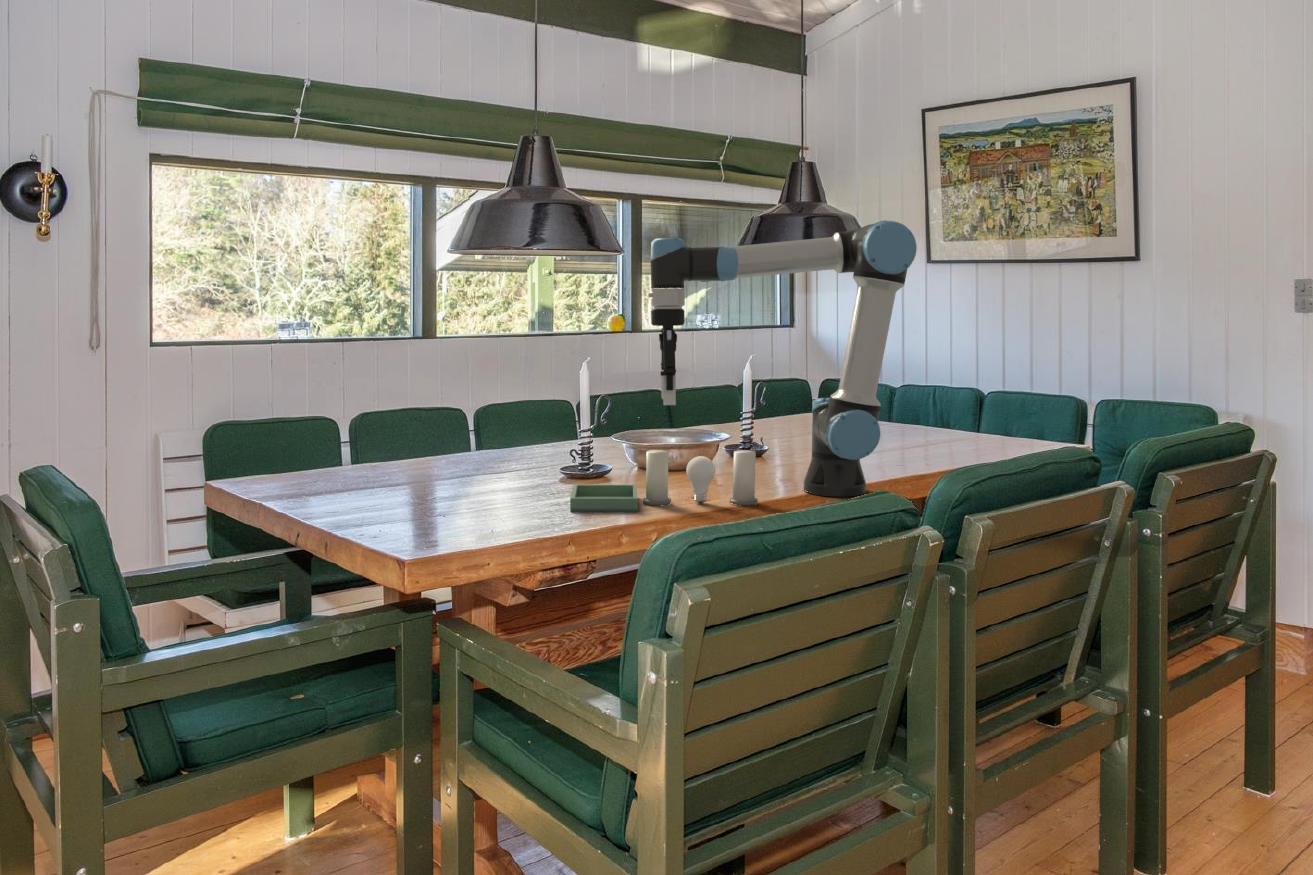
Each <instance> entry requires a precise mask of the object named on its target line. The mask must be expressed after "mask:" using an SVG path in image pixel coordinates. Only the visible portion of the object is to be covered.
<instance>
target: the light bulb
mask: <svg viewBox="0 0 1313 875" xmlns="http://www.w3.org/2000/svg"><path fill="white" fill-rule="evenodd" d="M685 469H686V471H685V472H686V476H687V478H688V479H689V482H690V483H691V486H692V491H693V494H694V495H693V500H694V502H696V503H697V504H700V503H701V504H704V503H705V502H707V499H708V496H707V495H708V492H709V487H710V484H711V483H712V481H713V479H714V478H715V475H716V467H715V463H714V462H713V460H711V459H710V458H709V457H707V456H705V455H704V456H703V455H700V456H695V457H693V458H691V459H690V461H688V463H687V465H686V468H685Z"/></svg>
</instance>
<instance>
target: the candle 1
mask: <svg viewBox="0 0 1313 875" xmlns="http://www.w3.org/2000/svg"><path fill="white" fill-rule="evenodd" d="M645 454H646V456H645V458H646V459H645V460H646V462H645V465H646V466H645V469H646V470H645V476H646V477H645V479H646V480H645V483H646V484H645V497H644V498H643V499H642V505H644V504H645V506H648V505H650V506H651V507H662V506H661V505H667V506H669V505H668V504H670V503H671V504H672V499H671V497H669V451H667V450H661V449H652V450H646V453H645ZM671 504H670V505H671ZM650 506H649V507H650Z"/></svg>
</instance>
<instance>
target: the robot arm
mask: <svg viewBox="0 0 1313 875" xmlns="http://www.w3.org/2000/svg"><path fill="white" fill-rule="evenodd" d="M917 250H918V248H917V241H916V238H915V236H914V234H913V232H912V231H911V230H910V229H909V228H908V227H907V225H904V224H903V223H900V222H898V221H893V220H880V221H877V222H875V223H871V224H867V225H864V226H862V227H859V228H855V229H851V230H847V231H846V230H845V231H839V232H835V233H834V234H833V235H832V236H830V237H821V238H820V237H819V238H810V239H809V238H808V239H799V240H798V239H797V240H789V241H778V242H777V241H776V242H768V243H757V244H755V243H754V244H747V245H737V246H736V245H734V246H704V247H703V246H701V247H700V246H698V247H697V246H696V247H691V246H686V244H685V240H684V239H683V238H679V237H676V238H675V237H674V238H672V237H664V238H659V237H658V238H655V239H653V240H652V241H651V246H650V288H651V289H650V291H651V292H649V293H648V298H651V299H650V300H651V307H654V308H653V309H651V311H650V313H651V314H650V318H651V319H650V324H651V325H652V326H655V327H662V328H661V329H660V333H659V334H658V341H659V350H660V352H661V359H660V360H661V362H660V369H661V371H660V376H661V377H660V379H661V382H660V383H661V386H660V388H661V399H662V400H663V402H662V403H663V406H676V405H677V401H676V399H677V397H676V393H677V390H676V387H677V386H676V385H677V384H676V379H677V378H676V372H677V369H676V351H677V342H678V334H677V333H676V332H675V331H676V330H674V326H684V325H685V309H684V308H683V307H684V306H685V305H686V303H685V301H686V300H685V299H686V298H685V297H686V296H685V282H686V281H687V282H696V281H697V282H702V283H707V282H726V281H727V282H729V281H734V280H736V279H742V278H743V279H745V278H754V277H763V276H764V277H765V276H766V277H767V276H776V275H785V274H786V275H787V274H789V275H790V274H797V273H798V274H799V273H809V272H820V271H828V270H829V271H831V270H834V271H835V272H837V274H845V273H853V275H852V279H853V280H854V282H855V283H856V285H857V289H856V295H855V301H854V305H853V306H854V307H853V309H852V310H853V311H852V317H851V322H850V327H849V333H848V338H847V343H846V347H845V354H844V358H843V365H842V370H841V374H840V379H839V386H838V389H837V390H836V391H835V392H833V393H832V394H830V397H818V398H816V399H814V401H813V403H812V404H813V405H812V410H811V414H812V424H811V426H812V429H811V459H810V462H809V465H808V469H807V471H806V474H805V476H804V480H803V489H804V490H806V491H808V492H811V493H812V494H811V495H815V496H816V495H817V496H823V497H838V498H839V497H841V498H843V497H844V498H845V497H857V496H862V495H865V494H866V493H867V482H866V479H865V476H864V471H863V469H862V465H861V459H864V458H866V457H868V456H869V455H870V454H872V453H873V452H874V451H875V450H876V448H877V447H878V445H879V442H880V439H881V427H880V426H881V425H880V423H879V416H880V412H881V406H882V404H881V403H880V400H878V398H877V391H878V386H879V381H880V376H881V372H882V366H883V361H884V355H885V350H886V346H887V340H888V336H889V330H890V324H891V319H892V315H893V314H892V313H893V310H894V309H893V308H894V303H895V300H896V299H895V298H896V294H897V292H898V291H899V290H900V289H901V288H903V287H904V286H905V283H906V279H907V274H908V269H909V268H910V266H911V265H912V264H913V262H914V260H915V258H916V255H917ZM804 490H803V491H804Z"/></svg>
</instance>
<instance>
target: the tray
mask: <svg viewBox="0 0 1313 875" xmlns="http://www.w3.org/2000/svg"><path fill="white" fill-rule="evenodd" d="M638 499H639V498H638V486H637V484H573V486H572V491H571V494H570V499H569V500H570V508H569V509H570V513H572V512H573V513H575V512H576V513H577V512H579V513H589V512H592V513H595V512H596V513H604V512H605V513H607V512H608V513H616V512H617V513H622V512H623V513H626V512H628V513H637V512H638V507H639V506H638V505H639V504H638Z"/></svg>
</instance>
